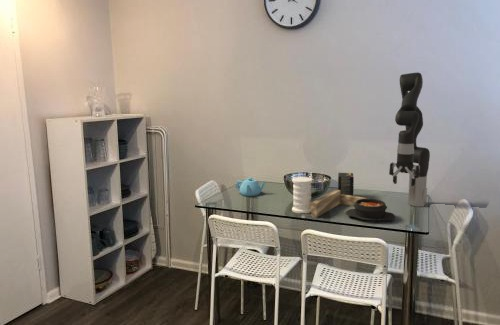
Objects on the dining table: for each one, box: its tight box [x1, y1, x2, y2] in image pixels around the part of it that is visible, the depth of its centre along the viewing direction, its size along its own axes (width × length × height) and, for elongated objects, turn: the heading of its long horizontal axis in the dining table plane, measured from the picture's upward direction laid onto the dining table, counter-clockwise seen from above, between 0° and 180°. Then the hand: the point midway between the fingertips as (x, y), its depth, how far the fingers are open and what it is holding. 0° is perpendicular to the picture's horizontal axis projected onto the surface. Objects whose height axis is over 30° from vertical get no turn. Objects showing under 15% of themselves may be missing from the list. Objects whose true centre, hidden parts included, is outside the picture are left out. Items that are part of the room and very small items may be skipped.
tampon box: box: [337, 172, 355, 196], centre depth 254 cm, size 11×9×15 cm
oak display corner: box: [310, 189, 369, 219], centre depth 228 cm, size 18×32×8 cm, turn 143°
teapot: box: [234, 177, 267, 197], centre depth 268 cm, size 15×15×11 cm
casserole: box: [345, 198, 396, 222], centre depth 217 cm, size 25×19×8 cm
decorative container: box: [291, 176, 313, 214], centre depth 231 cm, size 12×12×18 cm
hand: (403, 184), depth 204 cm, fingers open, 8 cm apart
